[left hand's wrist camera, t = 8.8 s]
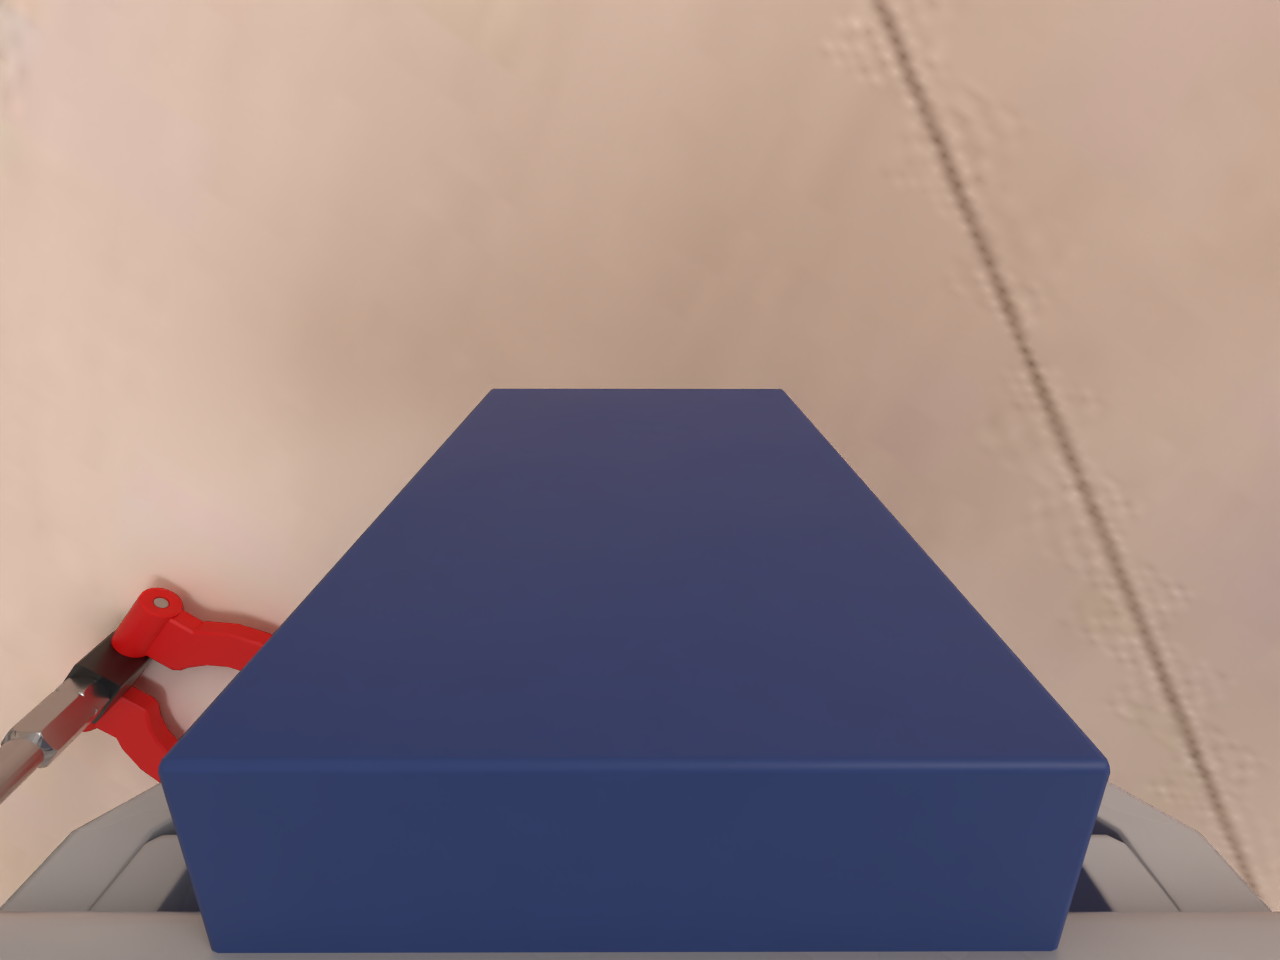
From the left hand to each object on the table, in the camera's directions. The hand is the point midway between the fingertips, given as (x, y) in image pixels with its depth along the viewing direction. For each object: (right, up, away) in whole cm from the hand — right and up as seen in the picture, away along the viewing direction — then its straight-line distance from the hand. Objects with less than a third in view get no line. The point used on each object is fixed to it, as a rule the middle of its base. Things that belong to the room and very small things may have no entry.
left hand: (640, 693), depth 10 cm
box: (0, -8, +9) cm, 12 cm away
